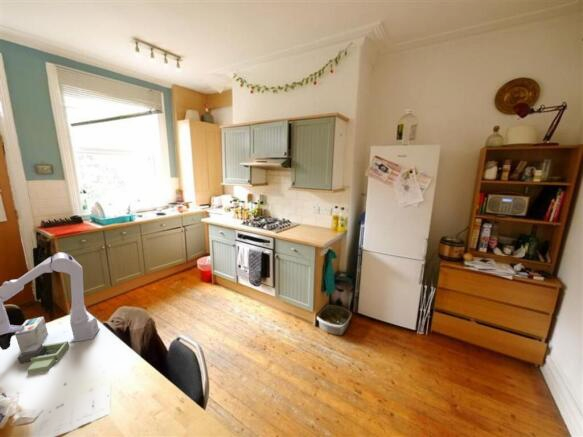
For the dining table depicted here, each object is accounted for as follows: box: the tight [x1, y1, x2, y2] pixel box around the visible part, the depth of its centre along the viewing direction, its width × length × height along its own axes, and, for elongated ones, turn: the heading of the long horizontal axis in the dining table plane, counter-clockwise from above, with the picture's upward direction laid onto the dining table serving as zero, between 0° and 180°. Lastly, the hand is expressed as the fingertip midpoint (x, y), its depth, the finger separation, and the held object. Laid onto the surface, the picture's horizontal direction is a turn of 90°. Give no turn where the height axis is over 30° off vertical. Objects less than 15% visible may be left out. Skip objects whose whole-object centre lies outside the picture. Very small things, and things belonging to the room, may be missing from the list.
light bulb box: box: [14, 316, 49, 354], centre depth 118 cm, size 11×7×11 cm, turn 26°
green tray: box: [26, 340, 70, 375], centre depth 110 cm, size 10×14×3 cm
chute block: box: [17, 343, 48, 365], centre depth 110 cm, size 7×5×6 cm
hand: (6, 348), depth 106 cm, fingers closed
